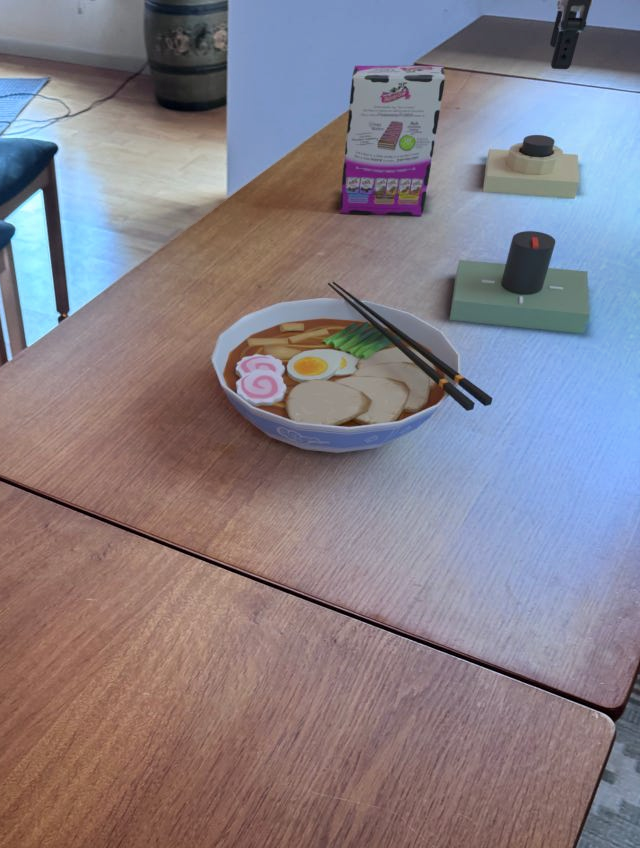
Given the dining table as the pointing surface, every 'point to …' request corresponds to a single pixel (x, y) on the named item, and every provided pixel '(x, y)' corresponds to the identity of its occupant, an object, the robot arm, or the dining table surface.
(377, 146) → the candy bar box
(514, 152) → the housing
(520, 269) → the knob
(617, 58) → the dining table surface
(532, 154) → the button
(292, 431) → the ramen bowl
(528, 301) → the panel
